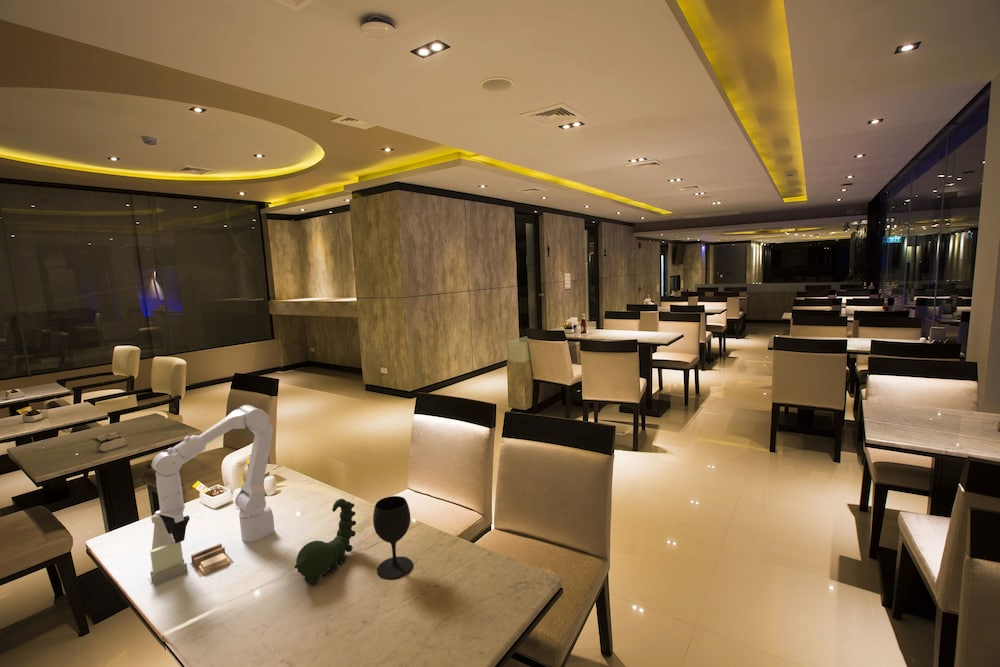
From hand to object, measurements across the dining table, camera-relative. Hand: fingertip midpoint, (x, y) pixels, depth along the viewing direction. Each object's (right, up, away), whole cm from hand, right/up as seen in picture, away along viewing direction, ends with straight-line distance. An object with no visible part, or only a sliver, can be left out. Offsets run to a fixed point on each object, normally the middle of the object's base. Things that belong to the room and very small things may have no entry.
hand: (176, 536), depth 136 cm
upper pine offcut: (+11, -8, +1) cm, 14 cm away
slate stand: (0, -11, -3) cm, 11 cm away
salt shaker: (-11, -10, +10) cm, 18 cm away
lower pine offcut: (+11, -9, +1) cm, 14 cm away
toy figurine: (+45, -9, -1) cm, 46 cm away
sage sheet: (0, -10, -3) cm, 10 cm away
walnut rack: (+9, -10, +3) cm, 14 cm away
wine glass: (+65, -9, -2) cm, 66 cm away
